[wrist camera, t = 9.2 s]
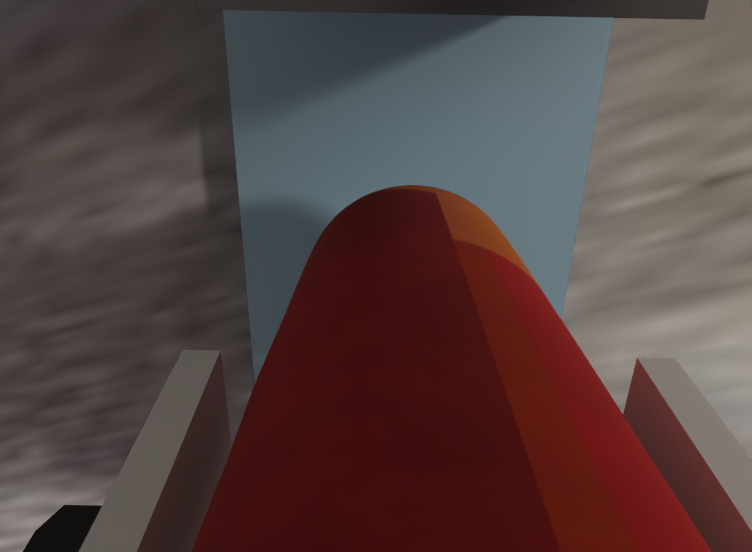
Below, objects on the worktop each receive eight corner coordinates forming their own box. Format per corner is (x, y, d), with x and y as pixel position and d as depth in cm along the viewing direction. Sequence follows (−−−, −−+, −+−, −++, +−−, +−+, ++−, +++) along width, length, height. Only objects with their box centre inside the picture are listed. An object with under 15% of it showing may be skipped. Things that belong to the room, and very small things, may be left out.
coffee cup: (255, 373, 20) (-16, 1258, 6) (286, 115, 16) (-201, 886, 3) (511, 413, 20) (771, 1290, 7) (597, 173, 17) (1508, 1033, 3)
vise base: (647, -287, 17) (1057, -674, 7) (536, 394, 27) (629, 653, 17) (209, -295, 17) (-56, -696, 7) (263, 388, 27) (191, 644, 17)
